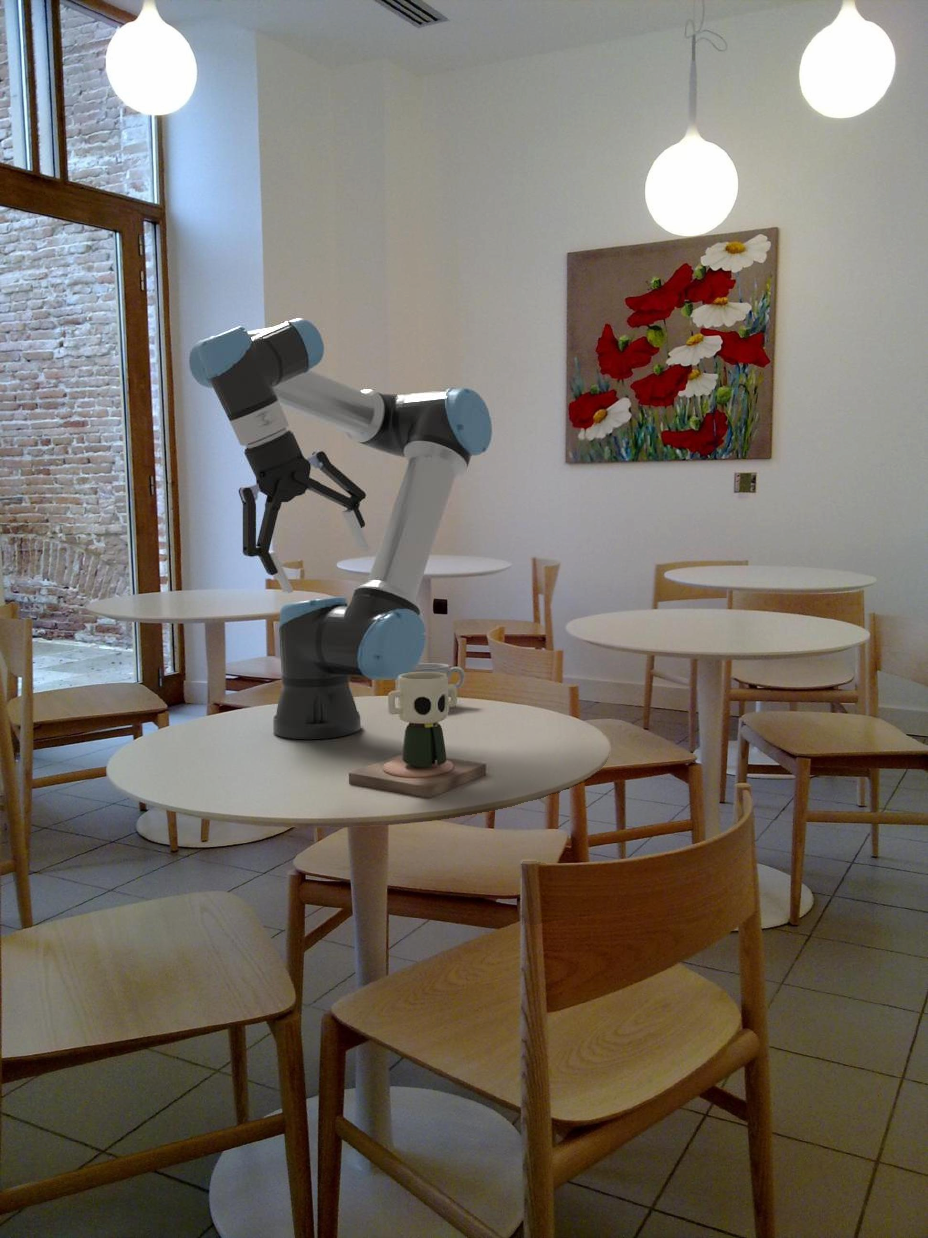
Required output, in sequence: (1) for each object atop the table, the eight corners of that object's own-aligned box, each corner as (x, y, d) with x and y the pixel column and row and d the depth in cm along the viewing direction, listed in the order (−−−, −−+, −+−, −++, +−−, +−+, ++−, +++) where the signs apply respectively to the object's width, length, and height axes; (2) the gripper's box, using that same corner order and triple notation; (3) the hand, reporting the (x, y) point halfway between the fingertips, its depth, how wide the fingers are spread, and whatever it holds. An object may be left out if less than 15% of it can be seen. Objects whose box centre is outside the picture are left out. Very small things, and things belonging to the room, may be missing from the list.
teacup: (385, 708, 194) (384, 667, 193) (409, 698, 204) (408, 659, 203) (452, 713, 189) (451, 671, 188) (473, 702, 199) (472, 662, 198)
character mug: (401, 776, 138) (399, 683, 136) (379, 765, 144) (377, 675, 142) (470, 765, 143) (468, 675, 142) (445, 754, 149) (444, 668, 148)
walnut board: (409, 761, 153) (408, 749, 153) (486, 774, 145) (485, 761, 145) (348, 783, 142) (348, 770, 141) (429, 798, 134) (428, 784, 134)
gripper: (195, 475, 135) (263, 612, 142) (349, 402, 145) (405, 534, 152) (181, 475, 142) (246, 606, 149) (329, 405, 152) (384, 532, 159)
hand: (327, 570), depth 151 cm, fingers open, 13 cm apart
